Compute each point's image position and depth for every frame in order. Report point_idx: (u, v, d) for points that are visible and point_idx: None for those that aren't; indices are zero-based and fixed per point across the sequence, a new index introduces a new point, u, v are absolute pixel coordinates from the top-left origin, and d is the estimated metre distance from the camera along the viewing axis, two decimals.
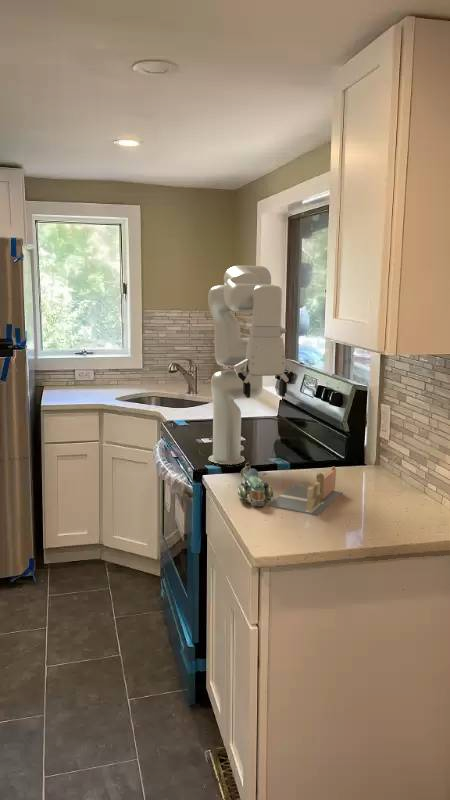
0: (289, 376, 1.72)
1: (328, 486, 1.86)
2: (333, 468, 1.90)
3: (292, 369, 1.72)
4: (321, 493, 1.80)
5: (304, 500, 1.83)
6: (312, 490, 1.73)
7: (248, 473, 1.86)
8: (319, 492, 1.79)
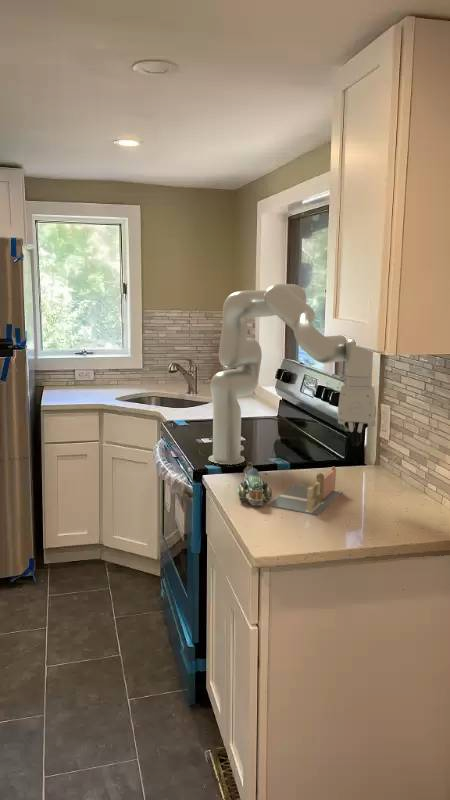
0: None
1: (328, 486, 1.86)
2: (333, 468, 1.90)
3: None
4: (321, 493, 1.80)
5: (304, 500, 1.83)
6: (312, 490, 1.73)
7: (248, 472, 1.87)
8: (319, 492, 1.79)
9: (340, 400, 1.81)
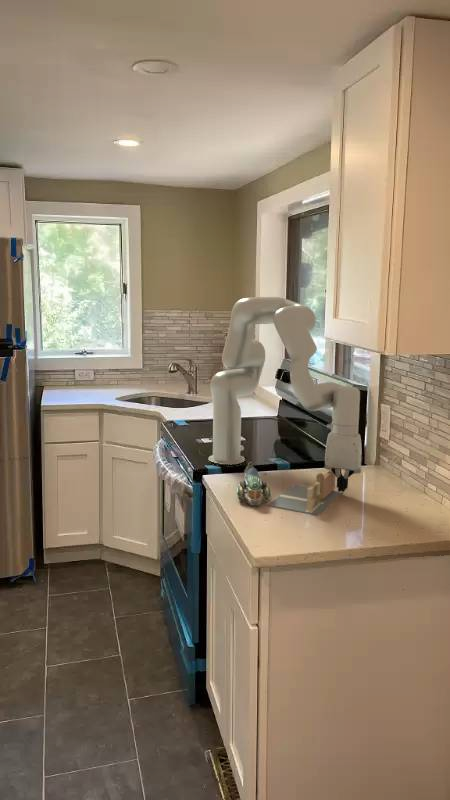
0: None
1: (328, 486, 1.86)
2: None
3: None
4: (321, 493, 1.80)
5: (304, 500, 1.83)
6: (312, 490, 1.73)
7: (248, 472, 1.87)
8: (319, 492, 1.79)
9: (327, 447, 1.85)
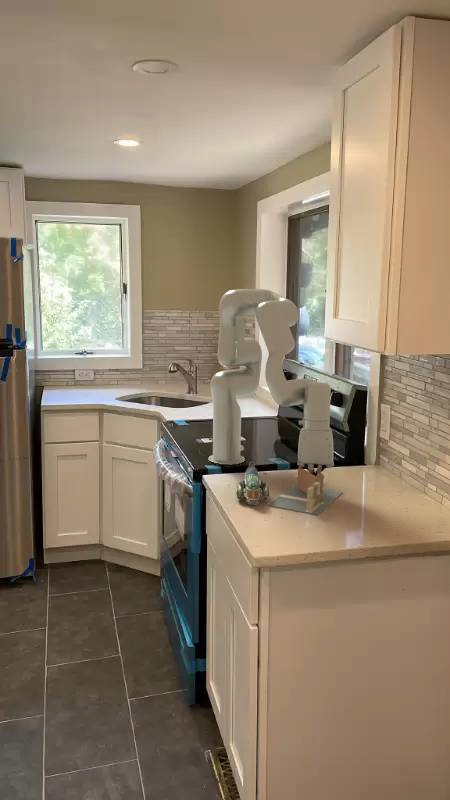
0: None
1: None
2: (301, 467, 1.91)
3: None
4: (321, 493, 1.80)
5: (304, 500, 1.83)
6: (312, 490, 1.73)
7: (247, 472, 1.87)
8: (319, 492, 1.79)
9: (300, 443, 1.87)
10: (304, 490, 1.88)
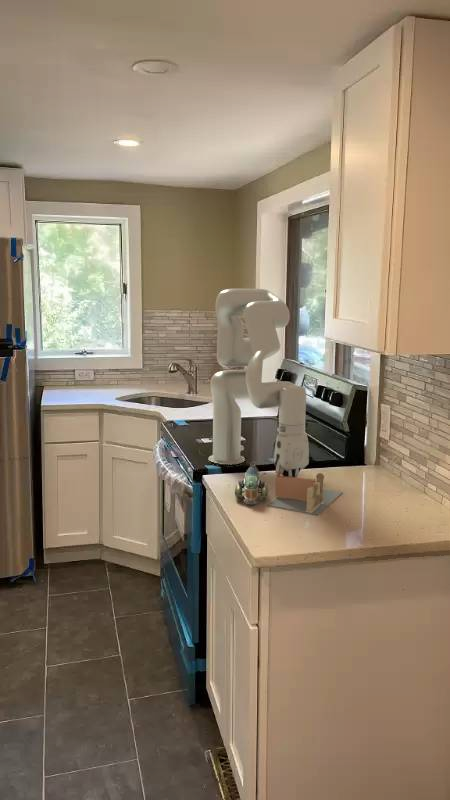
0: None
1: None
2: (279, 474, 1.84)
3: None
4: (321, 493, 1.80)
5: (304, 500, 1.83)
6: (312, 490, 1.73)
7: (247, 471, 1.88)
8: (319, 492, 1.79)
9: (286, 450, 1.80)
10: (291, 496, 1.83)
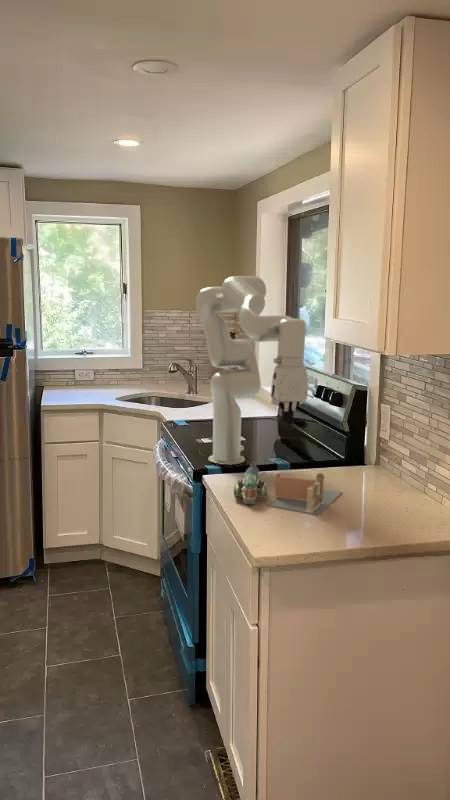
0: None
1: None
2: (279, 474, 1.84)
3: None
4: (321, 493, 1.80)
5: (304, 500, 1.83)
6: (312, 490, 1.73)
7: (246, 471, 1.88)
8: (319, 492, 1.79)
9: (280, 381, 1.82)
10: (291, 496, 1.83)
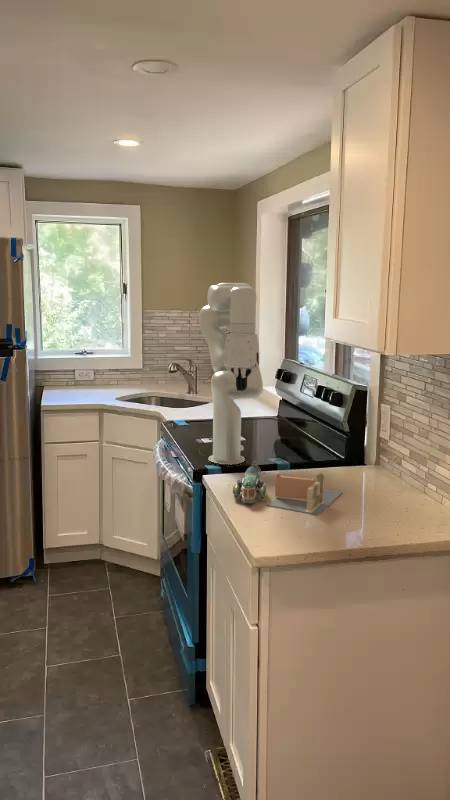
0: None
1: None
2: (279, 474, 1.84)
3: None
4: (321, 493, 1.80)
5: (304, 500, 1.83)
6: (312, 490, 1.73)
7: (247, 471, 1.88)
8: (319, 492, 1.79)
9: (225, 346, 1.91)
10: (291, 496, 1.83)
